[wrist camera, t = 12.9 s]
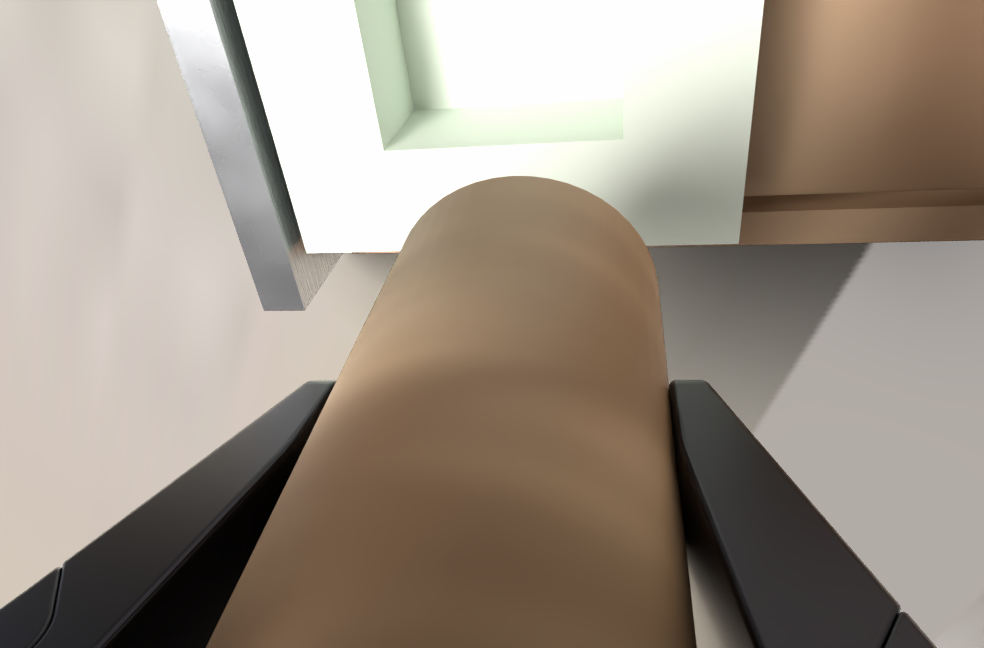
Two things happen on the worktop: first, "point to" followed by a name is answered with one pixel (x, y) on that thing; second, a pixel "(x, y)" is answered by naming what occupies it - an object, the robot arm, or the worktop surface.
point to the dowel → (488, 449)
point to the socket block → (507, 108)
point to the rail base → (772, 147)
